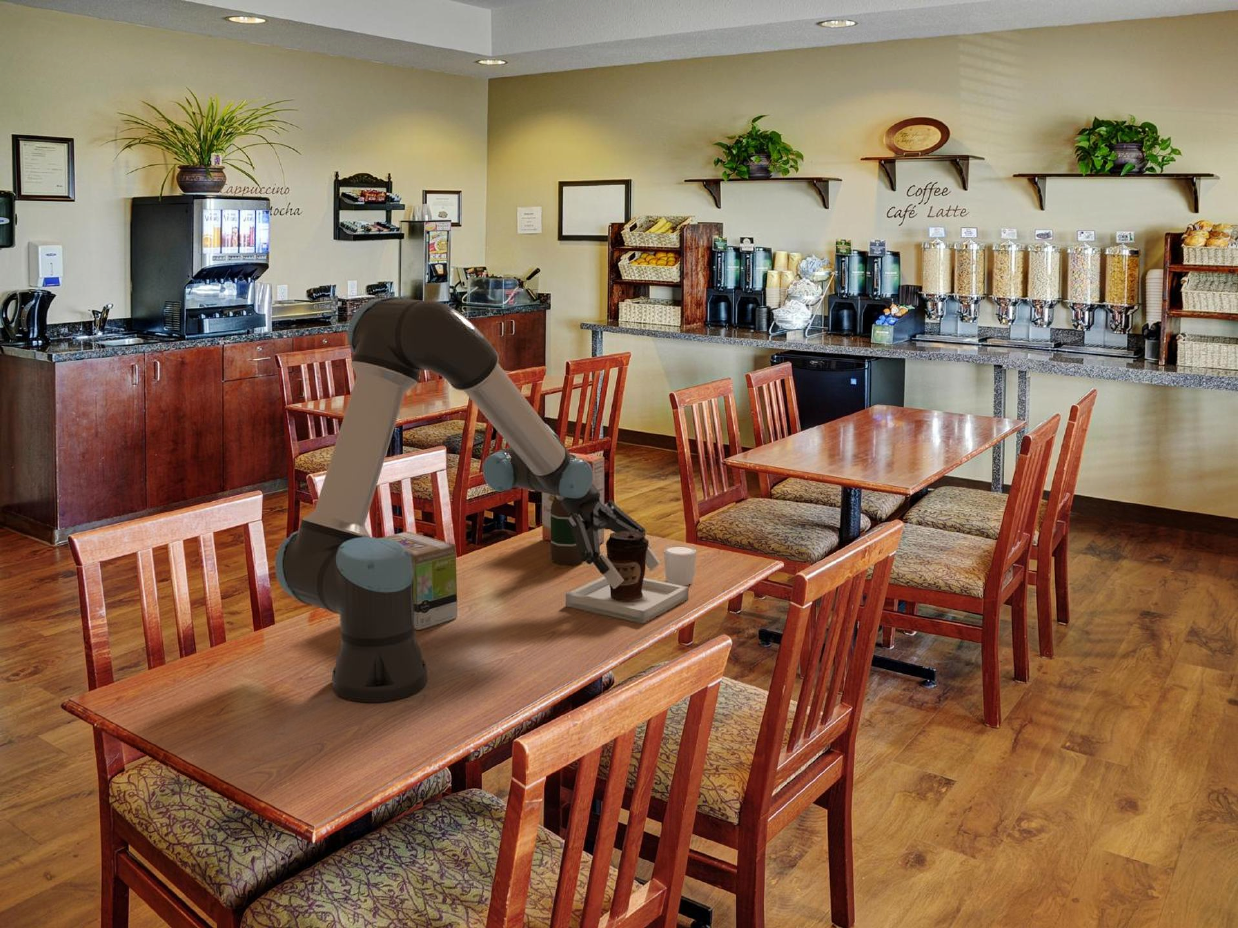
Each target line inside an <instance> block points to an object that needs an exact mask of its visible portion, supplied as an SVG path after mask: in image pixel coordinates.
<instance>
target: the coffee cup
mask: <svg viewBox="0 0 1238 928" xmlns="http://www.w3.org/2000/svg"><path fill="white" fill-rule="evenodd" d="M605 546H606V547H605V548H606V556H607V558H608V559H609V561H610V562H611V563H612V565H613V566H614V567H615V569H616V570H617V571H618V573H619V574H620V575H621V577H622V578H623V579H624V581H623V582H622V583H621V584H620V585H619V586H617V587H616V588H615V589H613V588H612V586H611V585H610V591H611V593H610V594H611V598H612V599H614V600H618V601H637V600H641V599H642V598H643V594H642V585H643V579H644V578H645V575H646V568H647V565H646V564H645V563H646V552H647V550H648V546H649V540H648V539H647V538H646V533H645V534H644V533H641V532H637V531H621V532H617V533H615V532H611V533H610V534H609V538H608V539H607V540H606V542H605Z"/></svg>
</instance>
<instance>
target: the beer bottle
mask: <svg viewBox="0 0 1238 928" xmlns="http://www.w3.org/2000/svg"><path fill="white" fill-rule="evenodd" d="M571 456H572V457H573V458H576V456H575V455H572V454H571ZM561 502H562V500H558V499H557V497H556V496H555V498H554V499H553V502H552V505H551V541H550V558H551V559H550V560H551V562H552V563H554V564H556V565H559V566H569V567H570V566H575V565H576V566H577V565H580V564H583V563H584V562H583V561H582V560H581V558H580V554H579V551H578V548H577V545H576V542H575V539H574V536H573V533H572V530H571V528H570V527H569V525H568V523H567V520H568V519H569V518H570V517H571V516H570V515H569V514H568V512H567V511H566V510H565V508H564V507H563V506H562V504H561ZM585 553H586V551H585Z"/></svg>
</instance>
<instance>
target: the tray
mask: <svg viewBox="0 0 1238 928" xmlns="http://www.w3.org/2000/svg"><path fill="white" fill-rule="evenodd" d="M689 591H690V588H689V586H681V585H676V584H671V583H667V582H666V581H661V580H657V579H651V578H645V577H644V579H643V585H642V594H643V598H642V599H641V600H637V601H618V600H614V599H612V598H611V594H610V593H611V591H610V584H609V582H608V581H607V579H606V578H605V577H604V575H603V576H601V577H599V578H597V579H594V580H592V581H590V582H589V583H586V584H584V585H581V586H580V587H578V588H576V589H573V590H571V591H568V592H567V593H565V607H569V608H573V609H577V610H581V611H585V612H586V611H587V612H590V613H595V614H600V615H604V616H607V617H612V618H617V619H621V620H625V621H629V622H633V621H634V622H635V623H639V624H642V625H643V623H644V624H646V623H648V622H649V620H650V619H651V620H653V619H655V618H657V617H658V615H659V616H660V615H663V614H664V613H666V612H668V611H669V610H672V609H673V608H675V607H676V605H677V606H679V605H680V604H682V603H683V602H682V601H684V602H686V601H687V599H688V600H689V597H690V596H689ZM685 600H686V601H685ZM681 602H682V603H681ZM679 603H680V604H679ZM678 604H679V605H678ZM667 610H668V611H667ZM656 616H657V617H656ZM651 620H650V621H651ZM647 621H648V622H647Z"/></svg>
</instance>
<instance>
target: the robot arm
mask: <svg viewBox="0 0 1238 928" xmlns="http://www.w3.org/2000/svg"><path fill="white" fill-rule="evenodd" d="M347 342H349V349H350V351H351V353H352V354H353V357H352V359H351V360H352V361H351V363H350V366H351V368H352V370H353V371H354V372H355V373H354V374H355V377H356V378H355V381H354V383H353V387H352V391H351V393H350V397H349V401H348V403H347V407H346V409H345V413H344V416H343V419H342V422H341V425H340V429H339V432H338V435H337V439H336V441H335V445H334V448H333V451H332V454H331V457H330V461H329V464H328V468H327V470H326V473H325V476H324V480H323V483H322V485H321V486H322V487H321V488H320V492H319V496H318V499H317V502H316V505H315V508H314V511H312V512H310V513H309V514H307V515H305V516H304V517H302V518H301V519H302V520H301V522H300V525H299V528H298V530H297V531H294V532H292V533H291V534H289V537H287V538H284V539H283V541H282V542H281V544H280V545H279V547H278V549H277V552H276V556H275V561H274V570H275V575H276V579H277V581H278V583H279V585H280V587H281V589H282V590H283V591H284V592H285V593H286V594H287V595H289V596H290V597H291V598H294V599H296V600H297V601H299V602H300V603H302V604H306V605H310V606H315V607H318V608H320V609H323V610H325V611H328V612H332V613H334V614H336V615H339V621H340V623H339V624H340V639H341V640H340V645H339V646H340V647H339V649H338V653H337V657H336V660H335V666H334V668H333V671H332V672H331V673H332V674H331V683H332V684H331V685H332V687H331V688H332V691H333V692H334V694H335V695H336V696H338V697H340V698H342V699H344V700H349V701H352V702H357V703H359V702H360V703H383V702H391V701H397V700H400V699H403V698H406V697H409V696H412V695H414V694H416V693H418V692H419V691H421V690H422V689H424V688H425V686H426V685H427V683H428V670H427V668H428V667H427V665H426V662H425V661H424V660H423V655H422V652H421V650H420V646H419V644H418V642H417V638H416V634H415V629H414V593H413V574H414V572H413V569H412V562H411V556H410V553H409V551H408V550H407V549H406V548H405V547H404V546H403V545H402V544H400V543H398V542H395V541H393V540H390V539H385V538H382V537H378V538H379V539H378V538H377V537H374V536H371V535H370V534H369V532H368V529H367V528H366V522H367V518H368V516H369V512H370V508H371V505H372V502H373V498H374V495H375V492H376V489H377V485H378V482H379V479H380V477H381V476H380V475H381V472H382V471H383V470H382V469H383V467H384V466H383V465H384V462H385V459H386V457H387V453H388V450H389V447H390V444H391V440H392V437H393V434H394V430H395V427H396V424H397V422H398V421H397V420H398V417H399V414H400V410H401V407H402V404H403V401H404V397H405V395H406V392H407V391H408V390H412V388H414V387H416V386H417V385H418V382H419V379H420V377H421V373H422V371H427V372H432V373H434V374H436V375H439V376H441V377H442V378H443V379H444V380H446V381H447V382H448V383H449V384H450V386H451V387H452V388H454V389H455V390H457V391H463V392H464V394H466V395H467V397H468V398H469V399H470V400H471V401H472V403H474V405H475V406H476V407H477V408H478V409H479V411H480V412H481V413H482V414H483V415H484V417H485V418H486V419H487V420H488V422H489V423H490V424H491V425H492V426H493V428H494V429H495V430H496V431H497V432H498V433H499V435H500V436H501V437H502V438H503V439H504V441H506V444H508V445H509V447H508V448H504V449H499V450H498V451H497V452H494V453H493V454H489V455H488V456H487V457H485V460H484V461H483V463H482V474H483V479H484V481H485V484H487V486H488V487H489V488H490V489H492V490H493V491H495V492H504V491H509V490H511V489H512V488H519V489H523V490H529V491H534V492H541V493H542V492H544V493H548V494H552V495H555V496H556V497H557V499H558V500H562V502H561V504H562V506H563V507H564V508H565V510H566V511H567V512H568V514H569V515H570V516H571V517H570V518H569V519H568V520H567V523H568V525H569V527H570V528H571V530H572V533H573V536H574V539H575V542H576V545H577V548H578V551H579V554H580V558H581V560H582V561H583V562H582V563H585V562H586V563H587V565H591V564H594V566H595V567H596V569H597V570H598V571H599V573H600V574H601V575H603V576H604V577H605V578H606V579H607V581H608V582H609V584H610V585H611V586H612V588H613V589H615V588H616V587H617V586H619V585H620V584H621V583H622V582H623V581H624V579H623V578H622V577H621V575H620V574H619V573H618V571H617V570H616V569H615V567H614V566H613V565H612V563H611V562H610V561H609V559H608V558H607V554H605V553H602V554H601V548H600V544H599V537H598V530H601V529H604V530H606V531H607V530H609V531H612V533H617V532H621V531H637V532H641V533H644V534H646V529H645V527H643V526H642V525H640V524H639V522H637V521H636V520H634V519H633V518H632V517H631V516H629V515H628V514H627V513H626V512H624V511H623V510H622V509H620V508H619V507H618V506H617V504H616V503H615V502H614V501H613V500H612V499H609V500H608V501H607V502H606V503H604V505H603V504H602V503H601V502H600V500H599V498H600V493H599V491H598V490H597V489H596V487H595V486H594V485H593V483H592V481H593V471H592V468H591V466H590V464H589V463H588V462H586V461H584V460H581V459H579V458H573V457H572V456H571V454H570V453H571V452H569V450H568V448H566V445H565V444H564V443H563V442H562V441H561V438H560V437H559V435H558V434H556V433H555V431H554V430H553V429H552V428H551V427H550V426H549V425H548V424H547V423H545V422H544V420H543V419H542V418H541V417H540V415H539V414H538V413H537V412H536V410H535V409H534V408H533V406H532V405H531V404H530V403H529V401H528V400H527V398H526V397H525V396H524V395H523V393H522V392H521V391H520V390H519V388H518V387H517V385H516V384H515V383H514V382H513V380H512V379H511V378H510V377H509V375H508V374H507V373H506V372H505V370H504V369H503V368H502V367H501V366H502V365H500V364H499V360H500V359H499V354H498V352H497V350H496V349H495V348H494V347H493V345H492V344H491V343H490V341H489V340H488V339H487V338H486V336H485V335H484V334H483V333H482V332H481V331H480V330H479V329H478V327H476V326H475V325H474V324H473V323H472V322H471V321H470V320H469V319H468V318H467V317H466V316H464V315H463V314H462V313H460V312H459V311H458V310H457V309H455V308H452V307H451V306H450V305H448V304H445V303H443V302H440V301H436V300H420V299H407V298H398V297H396V296H395V297H393V296H392V297H391V296H389V297H383V298H374V299H371V300H369V301H367V302H365V303H363V304H362V305H361V306H359V308H357V310H355V312H354V314H352V317H351V319H350V321H349V323H348V329H347ZM585 551H586V552H585ZM661 563H662V561H660V559H659V558H658V557H657V555H656V554H655V552H654V551H653V550H652V549H651V547H650V546H649V545H648V550H647V552H646V563H645V566H646V568H648V569H649V570H650V572H652V571H653V570H655V569H656V568H657V567H658V566H659V565H660V564H661Z"/></svg>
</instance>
